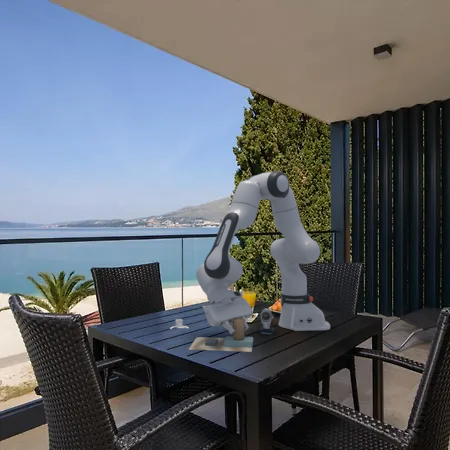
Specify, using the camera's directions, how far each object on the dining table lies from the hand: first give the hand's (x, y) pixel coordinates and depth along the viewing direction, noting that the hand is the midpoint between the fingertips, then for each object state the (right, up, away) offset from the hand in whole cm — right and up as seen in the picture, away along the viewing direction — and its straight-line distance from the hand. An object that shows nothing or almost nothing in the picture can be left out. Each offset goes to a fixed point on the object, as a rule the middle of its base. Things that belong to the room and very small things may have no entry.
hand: (240, 330), depth 138 cm
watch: (+12, -7, +16) cm, 21 cm away
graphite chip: (-10, -5, +2) cm, 12 cm away
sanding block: (0, -5, 0) cm, 5 cm away
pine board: (-6, -7, +1) cm, 9 cm away
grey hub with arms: (-28, -8, +27) cm, 39 cm away
